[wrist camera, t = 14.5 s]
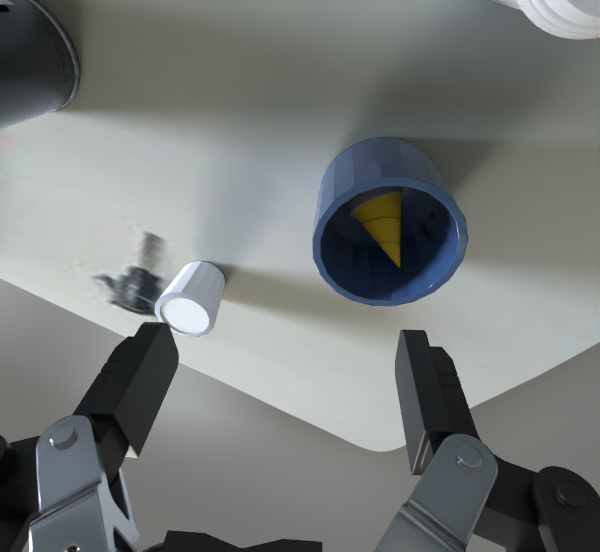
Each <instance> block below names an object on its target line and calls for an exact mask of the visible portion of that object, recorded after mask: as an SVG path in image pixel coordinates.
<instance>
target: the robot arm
mask: <svg viewBox="0 0 600 552" xmlns="http://www.w3.org/2000/svg"><path fill="white" fill-rule="evenodd" d="M79 81H80V72H79V64H78V60H77V56H76V53H75V50H74V48H73V45H72V43H71V41H70V39H69V37H68V36H67V34H66V32H65V31H64V29H63V28H62V26H61V25H60V23H59V22H58V21H57V20H56V19H55V17H54V16H53V15H52V14H51V13H50V12H49V11H48V10H47V9H46V8H45V7H44V6H42V5H41V4H40V3H39V2H37V1H36V0H0V129H3V128H6V127H8V126H11V125H14V124H17V123H19V122H22V121H25V120H28V119H31V118H34V117H36V116H39V115H42V114H45V113H47V112H53V111H57V110H59V109H62V108H64V107H66V106H67V105H68V104H70V103H71V102H72V100H73V99H74V97H75V96H76V94H77V91H78V87H79ZM178 361H179V354H178V350H177V347H176V344H175V341H174V338H173V335H172V332H171V329H170V327H169V325H168V323H165V322H144V323H143V324H142V325H141V326H140V328H139V329H138V331H137V333H136V334H135V336H134V337H130V336H128V337H127V338H126V339H125V340H124V341H122V342H121V343H120V344H119V345H118V346H117V347H116V348H115V349H114V351H113V352H112V354H111V355H110V357H109V359H108V360H107V363H105V365H104V366H103V368H102V369H101V373H99V374H98V376H97V377H96V379H95V380H94V382H93V384H92V385H91V387H90V388H89V390H88V391H87V393H86V394H85V396H84V397H83V399H82V400H81V402H80V404H79V405H78V407H77V408H76V410H75V411H74V413H73V414H72V415H71V416H67V417H65V418H63V419H60V420H58V421H56V422H55V423H53V424H52V425H51V426H50V427H48V428H47V429H46V430H45V432H44V433H43V434H42V435H41V436H36V437H33V438H28V439H24V440H20V441H16V442H12V443H8V442H7V441H6V440H5V438H4V437H2V436H0V552H22V550H23V548H24V546H25V544H26V542H27V540H28V538H29V552H322V542H315V541H302V540H288V539H281V540H277V541H273V542H269V543H264V544H260V545H256V546H252V547H247V548H238V547H236V546H234V545H231V544H229V543H227V542H224V541H222V540H219V539H217V538H215V537H212V536H210V535H208V534H206V533H196V532H183V531H169V530H168V532H167V534H166V538H165V541H164V542H163V543H159V544H157V545H154V546H152V547H149V548H148V549H146V550H145V548H144V545H143V542H142V540H141V537H140V535H139V533H138V531H137V528H136V525H135V522H134V518H133V514H132V510H131V506H130V501H129V497H128V493H127V489H126V485H125V481H124V477H123V473H122V470H121V468H120V467H121V465H122V462H123V460H124V458H125V457H139V455H140V453H141V450H142V448H143V446H144V443H145V441H146V439H147V437H148V434H149V432H150V430H151V427H152V425H153V422H154V420H155V418H156V416H157V413H158V411H159V409H160V406H161V404H162V402H163V400H164V397H165V395H166V393H167V390H168V388H169V386H170V383H171V381H172V379H173V377H174V374H175V372H176V370H177V367H178ZM395 378H396V384H397V390H398V396H399V402H400V408H401V414H402V420H403V426H404V432H405V438H406V444H407V450H408V456H409V462H410V468H411V474H412V475H422V477H421V479H420V480H419V482H418V484H417V486H416V487H415V489H414V491H413V492H412V494H411V496H410V497H409V499H408V501H407V502H405V503H404V504H403V505H402V506H401V508H400V509H399V511H398V512H397V514H396V516H395V517H394V519H393V521H392V522H391V524H390V525H389V527H388V529H387V531H386V532H385V534H384V536H383V537H382V539H381V541H380V542H379V544H378V546H377V547H376V549H375V551H374V552H466V547H467V544H468V542H469V539H470V537H471V535H472V533H473V534H476V535H478V536H480V537H482V538H485V539H487V540H490V541H492V542H494V543H496V544H499V545H501V546H503V547H506V551H507V552H600V497H599V495H598V494H597V492H596V491H595V490H594V488H593V487H592V486H591V485H590V484H589V483H588V482H587V481H586V480H584V479H583V478H582V477H581V476H579V475H578V474H576V473H574V472H572V471H570V470H568V469H565V468H562V467H557V466H550V467H546V468H543V469H542V470H540V471H539V473H537V472H534V471H531V470H528V469H525V468H522V467H520V466H517V465H514V464H511V463H509V462H506V461H504V460H502V459H501V458H499V457H497V456H496V455H494V454H493V453H492V452H491V450H490V449H489V448H488V447H487V446H486V445H485V444H484V443H482V441H481V440H480V438H479V436H478V434H477V431H476V428H475V425H474V422H473V419H472V417H471V413H470V410H469V407H468V404H467V401H466V398H465V395H464V392H463V390H462V389H461V384H460V381H459V378H458V377H457V372H456V369H455V366H454V363H453V360H452V358H451V357H450V356H449V355H448V354H447V353H446V351H445V350H444V349H443V348H442V347H430V345H429V341H428V338H427V334H426V332H425V331H424V330H401V332H400V336H399V342H398V348H397V353H396V359H395Z"/></svg>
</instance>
